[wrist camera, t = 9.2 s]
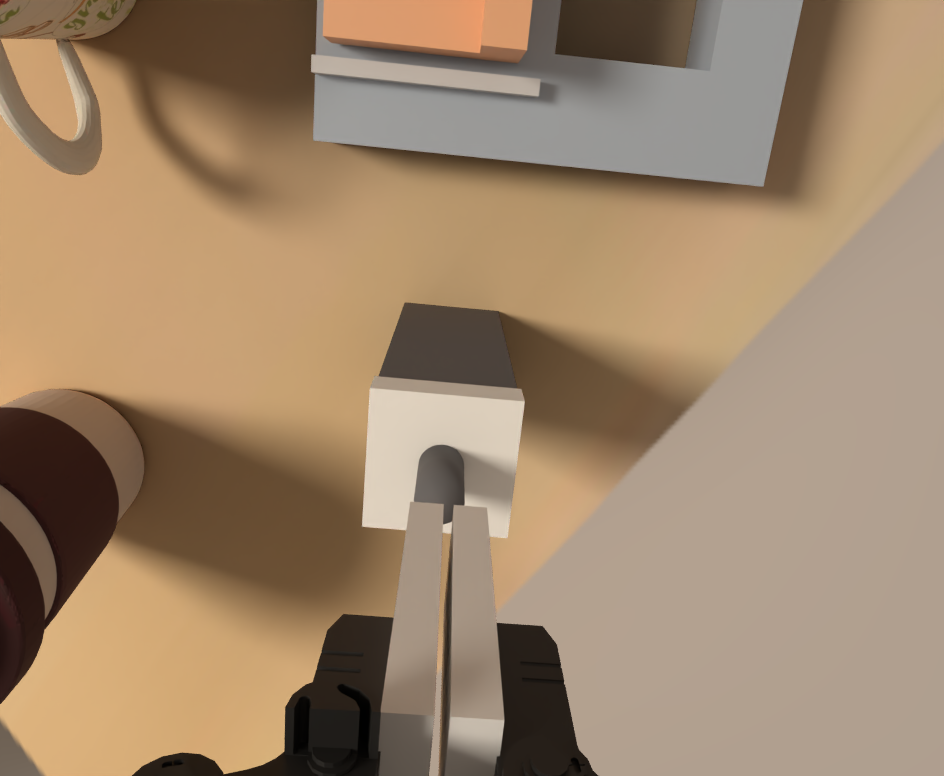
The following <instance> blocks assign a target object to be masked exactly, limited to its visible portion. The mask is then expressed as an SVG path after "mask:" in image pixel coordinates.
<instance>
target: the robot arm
mask: <svg viewBox="0 0 944 776" xmlns="http://www.w3.org/2000/svg"><path fill="white" fill-rule="evenodd" d="M443 510H444V504H436V503H423V502H410V507H409V514H408V521H407V528H406V535H405V542H404V549H403V556H402V563H401V570H400V577H399V584H398V592H397V599H396V606H395V613H394V618H391V617H376V616H362V615H348V614H343V615H342V616H341V617H340V618H339V619H338V620H337V621H336V622H335V623H334V624H333V625H332V626H331V627H330V628H329V629H328V630H327V634H326V637H325V641H324V644H323V648H322V653H321V655H320V659H319V662H318V666H317V670H316V673H315V677H314V680H313V682H312V683H309V684H306V685H305V686H303V687H302V688H301V689H299V690H298V691H297V692H295V693H294V694H293V695H292V697H291V698H290V700H289V702H288V704H287V705H286V707H285V752H283V753H282V754H281V755H280V756H278V757H277V758H276V759H274V760H272V761H270V762H268V763H266V764H264V765H261V766H258V767H254V768H251V769H248V770H243V771H238V772H233V773H228V774H224V775H223V772H222V770H221V769H220V768H219V766H218V765H217V764H216V762H215V761H213V760H211V759H209V758H207V757H205V756H203V755H201V754H191V753H178V754H173V755H168V756H163V757H160V758H158V759H156V760H154V761H152V762H150V763H148V764H146V765H144V766H142V767H141V768H140V769H139V770H138V771H137V772H136V773H134V774H133V775H132V776H429V767H430V758H431V747H432V736H433V725H434V716H435V715H434V714H435V692H436V670H437V647H438V624H439V601H440V579H441V556H442V533H443ZM441 686H442V687H441V715H440V717H441V719H440V745H439V747H440V748H439V775H438V776H598V775H597V774H596V773H595V772H594V771H593V770H592V768H591V765H590V763H589V761H588V759H587V758H586V757H585V756H584V755H583V754H582V753H581V752H580V751H579V749H578V746H577V742H576V737H575V732H574V727H573V722H572V717H571V712H570V708H569V702H568V697H567V693H566V687H565V685H564V678H563V673H562V668H561V663H560V658H559V653H558V648H557V644H556V643H555V642H554V640H553V639H552V638H551V636H550V635H549V634H548V633H547V631H546V630H545V629H544V628H543V626H533V625H518V624H504V623H497V622H496V610H495V598H494V586H493V574H492V561H491V549H490V537H489V525H488V512H487V507H475V506H462V505H454V508H453V519H452V529H451V540H450V551H449V561H448V572H447V582H446V593H445V603H444V624H443V654H442V685H441Z"/></svg>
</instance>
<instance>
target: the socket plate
mask: <svg viewBox="0 0 944 776" xmlns="http://www.w3.org/2000/svg"><path fill="white" fill-rule="evenodd" d="M802 4H803V0H697V3H696V8H695V14H694V20H693V26H692V31H691V37H690V43H689V49H688V54H687V60H686V66H685V68H677V67H668V66H659V65H650V64H641V63H632V62H623V61H614V60H605V59H595V58H586V57H577V56H568V55H559V54H555V49H556V41H557V33H558V25H559V16H560V8H561V0H533V1H532V10H531V19H530V28H529V37H528V46H527V51H526V52H525V54H524V55H523V57H522V58H521V60H520V61H519V63H509V62H499V61H490V60H481V59H472V58H463V57H454V56H444V55H435V54H426V53H417V52H408V51H399V50H389V49H380V48H371V47H362V46H353V45H344V44H334V43H331V42H329V41H328V40H327V39H326V38H325V37H323V11H324V0H317V24H316V55H314V54H311V72H312V73H314V74H315V94H314V129H313V140H314V141H323V142H333V143H343V144H353V145H362V146H372V147H382V148H392V149H401V150H411V151H421V152H430V153H440V154H450V155H460V156H469V157H479V158H489V159H499V160H508V161H518V162H528V163H538V164H547V165H557V166H567V167H577V168H586V169H596V170H606V171H616V172H625V173H635V174H645V175H654V176H664V177H674V178H684V179H693V180H703V181H713V182H723V183H732V184H742V185H752V186H762V187H763V186H764V181H765V176H766V172H767V167H768V162H769V158H770V153H771V148H772V144H773V139H774V134H775V130H776V125H777V120H778V116H779V111H780V106H781V102H782V97H783V93H784V88H785V83H786V79H787V74H788V69H789V65H790V60H791V55H792V51H793V46H794V41H795V37H796V32H797V27H798V23H799V18H800V13H801V9H802Z"/></svg>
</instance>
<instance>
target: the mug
mask: <svg viewBox="0 0 944 776" xmlns="http://www.w3.org/2000/svg"><path fill="white" fill-rule="evenodd" d="M135 3H136V0H0V38H2V39H56V42H57V46H58V50H59V54H60V57H61V60H62V63H63V66H64V69H65V72H66V75H67V79H68V82H69V85H70V88H71V91H72V94H73V98H74V102H75V108H76V113H77V118H78V129H77V133H76V135H75V137H74V138H73V139H72V140H71V141H67V140H64V139H62V138H60V137H58V136H57V135H56V134H54V133H53V132H52V131H51V130H50V129H49V128H48V127H47V126H46V125H45V124H44V123H43V122H42V121H41V120H40V119H39V117H38V116H37V115H36V114H35V113H34V111H33V110H32V109H31V107H30V106H29V104H28V102H27V101H26V99H25V97H24V95H23V93H22V91H21V89H20V87H19V84H18V82H17V80H16V77H15V75H14V72H13V70H12V67H11V65H10V62H9V60H8V57H7V55H6V52H5V50H4V47H3V45H2V42H1V40H0V114H1V116H2V117H3V119H4V120H5V122H6V123H7V125H8V126H9V127H10V129H11V130H12V131H13V132H14V133H15V134H16V136H17V137H18V138H19V139H20V140H21V141H22V142H23V143H24V144H25V145H26V146H27V147H28V148H29V149H30V150H31V151H32V152H33V153H34V154H35V155H37V156H38V157H39V158H40V159H42V160H43V161H44V162H46V163H47V164H49V165H50V166H52V167H53V168H55V169H57V170H59V171H61V172H64V173H67V174H73V175H82V174H86V173H88V172H89V171H91V170H92V169H93V168H94V167H95V166H96V164H97V162H98V160H99V158H100V154H101V150H102V134H101V117H100V108H99V104H98V100H97V98H96V95H95V93H94V90H93V88H92V85H91V83H90V81H89V79H88V77H87V74H86V72H85V70H84V68H83V66H82V63H81V61H80V59H79V57H78V55H77V53H76V51H75V49H74V47H73V45H72V44H71V42H70V40H78V39H88V38H94V37H97V36H100V35H103V34H105V33H107V32H109V31H111V30H112V29H114V28H115V27H117V26H118V25H119V24H120V23H121V22H122V21H123V20H124V19H125V18H126V17H127V16H128V14H129V13H130V11H131V10H132V8H133V6H134V5H135Z"/></svg>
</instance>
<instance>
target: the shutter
mask: <svg viewBox="0 0 944 776" xmlns="http://www.w3.org/2000/svg"><path fill="white" fill-rule="evenodd" d="M532 1H533V0H324V11H323V37H325V38H326V39H327V40H328V41H329V42H331V43H334V44H344V45H353V46H362V47H371V48H380V49H389V50H399V51H408V52H417V53H426V54H435V55H444V56H454V57H463V58H472V59H481V60H490V61H499V62H509V63H519V61H520V60H521V58H522V57H523V55H524V54H525V52H526V51H527V46H528V37H529V28H530V19H531V10H532Z"/></svg>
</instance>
